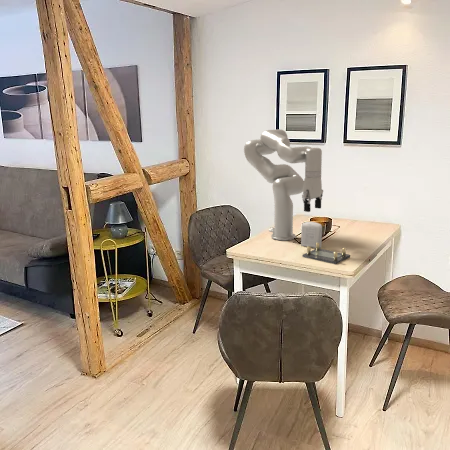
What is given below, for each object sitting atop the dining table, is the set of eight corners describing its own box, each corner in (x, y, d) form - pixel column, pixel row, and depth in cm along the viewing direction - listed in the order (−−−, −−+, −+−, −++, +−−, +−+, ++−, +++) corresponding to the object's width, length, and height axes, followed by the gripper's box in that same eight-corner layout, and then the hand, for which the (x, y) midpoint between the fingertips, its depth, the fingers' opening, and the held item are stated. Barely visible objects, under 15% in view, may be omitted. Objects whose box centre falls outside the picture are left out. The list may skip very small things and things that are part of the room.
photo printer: (322, 246, 230) (323, 222, 227) (319, 249, 227) (320, 224, 224) (303, 243, 236) (303, 219, 233) (299, 246, 232) (300, 221, 229)
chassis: (302, 256, 216) (302, 247, 214) (317, 250, 225) (317, 241, 224) (335, 264, 205) (336, 254, 203) (349, 256, 214) (350, 247, 213)
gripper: (315, 171, 231) (315, 206, 235) (296, 175, 218) (296, 212, 222) (329, 172, 226) (328, 207, 230) (310, 177, 214) (309, 213, 218)
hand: (312, 209), depth 226 cm, fingers open, 9 cm apart
